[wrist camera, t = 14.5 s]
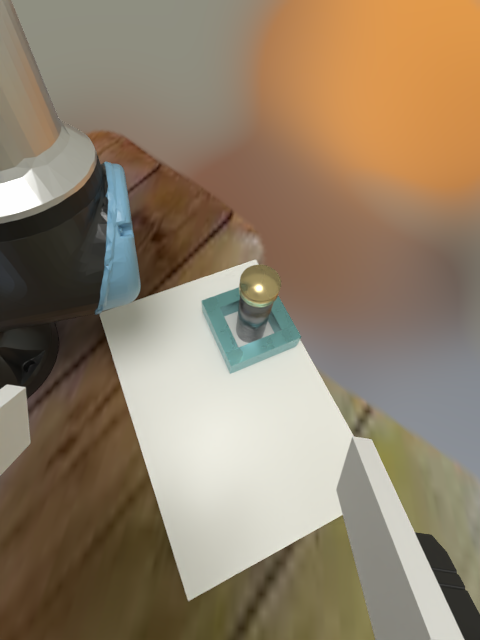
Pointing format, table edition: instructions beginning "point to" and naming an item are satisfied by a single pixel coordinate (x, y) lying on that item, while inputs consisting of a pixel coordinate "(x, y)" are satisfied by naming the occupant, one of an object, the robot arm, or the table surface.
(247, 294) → the gold capped grey cylinder
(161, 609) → the table surface
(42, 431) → the table surface
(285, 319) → the teal square frame
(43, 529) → the table surface
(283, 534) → the board
